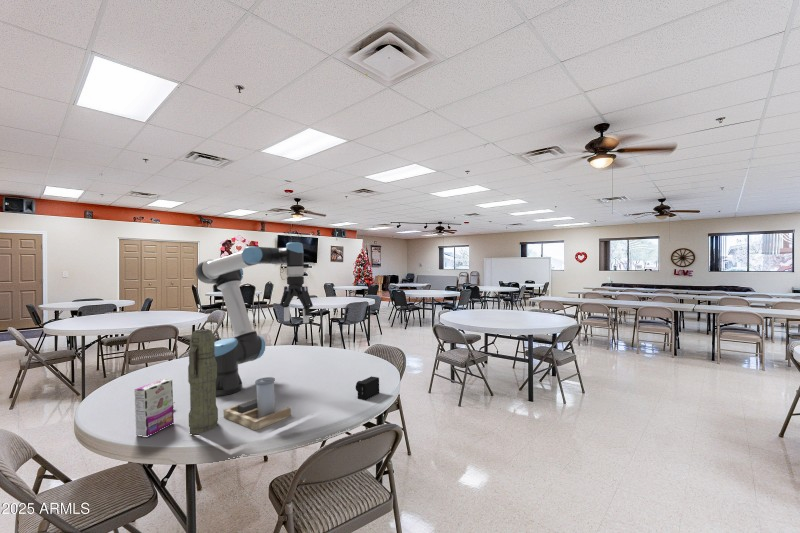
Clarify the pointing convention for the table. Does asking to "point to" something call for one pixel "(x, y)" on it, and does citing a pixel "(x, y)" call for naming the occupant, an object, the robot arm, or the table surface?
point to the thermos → (202, 382)
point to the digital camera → (367, 388)
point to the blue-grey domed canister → (265, 396)
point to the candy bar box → (154, 407)
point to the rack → (255, 417)
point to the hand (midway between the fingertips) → (296, 322)
